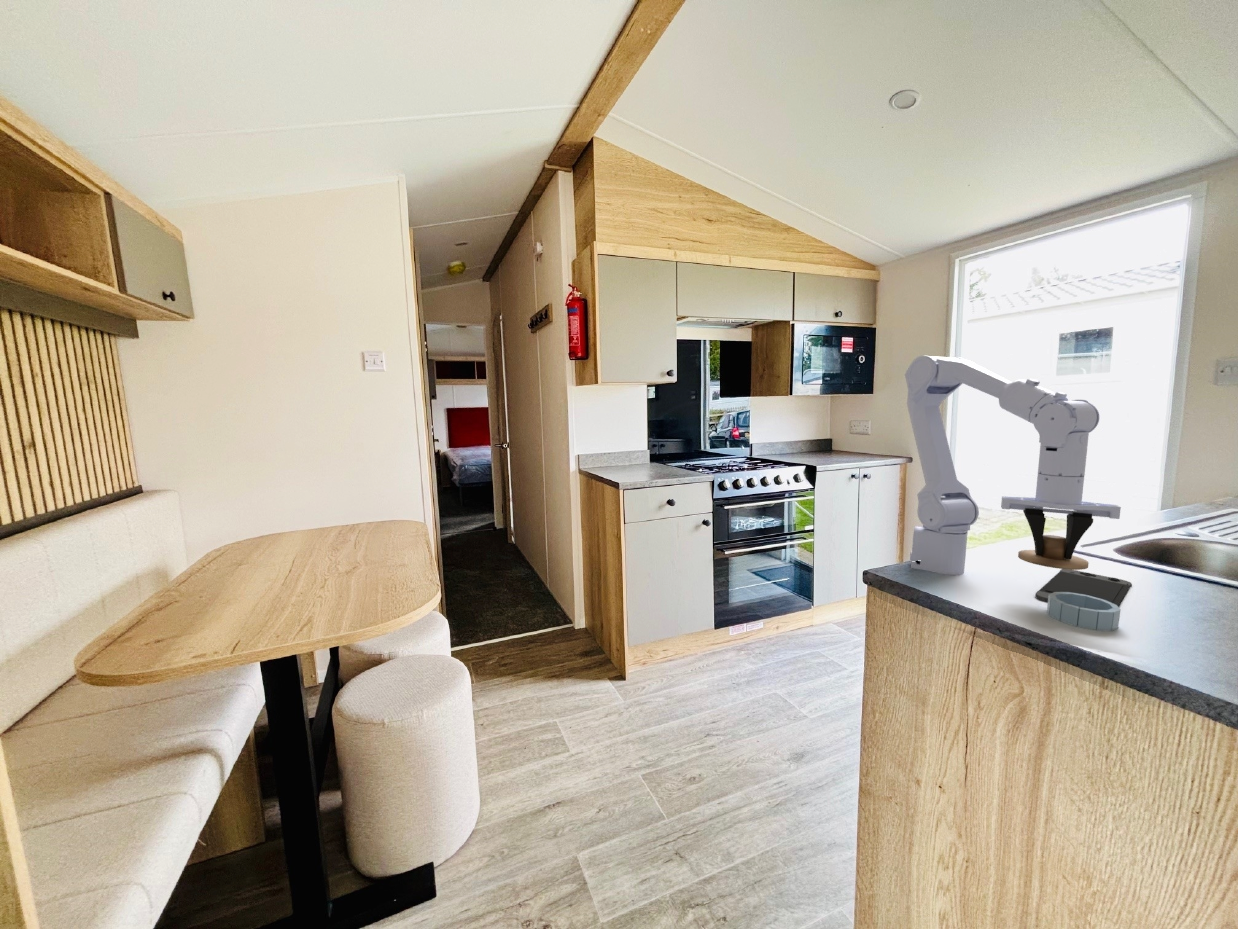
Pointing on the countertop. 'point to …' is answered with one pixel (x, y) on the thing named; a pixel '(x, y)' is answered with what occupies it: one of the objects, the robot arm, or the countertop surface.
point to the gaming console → (1086, 586)
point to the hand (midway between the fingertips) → (1052, 555)
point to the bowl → (1083, 611)
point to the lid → (1053, 555)
